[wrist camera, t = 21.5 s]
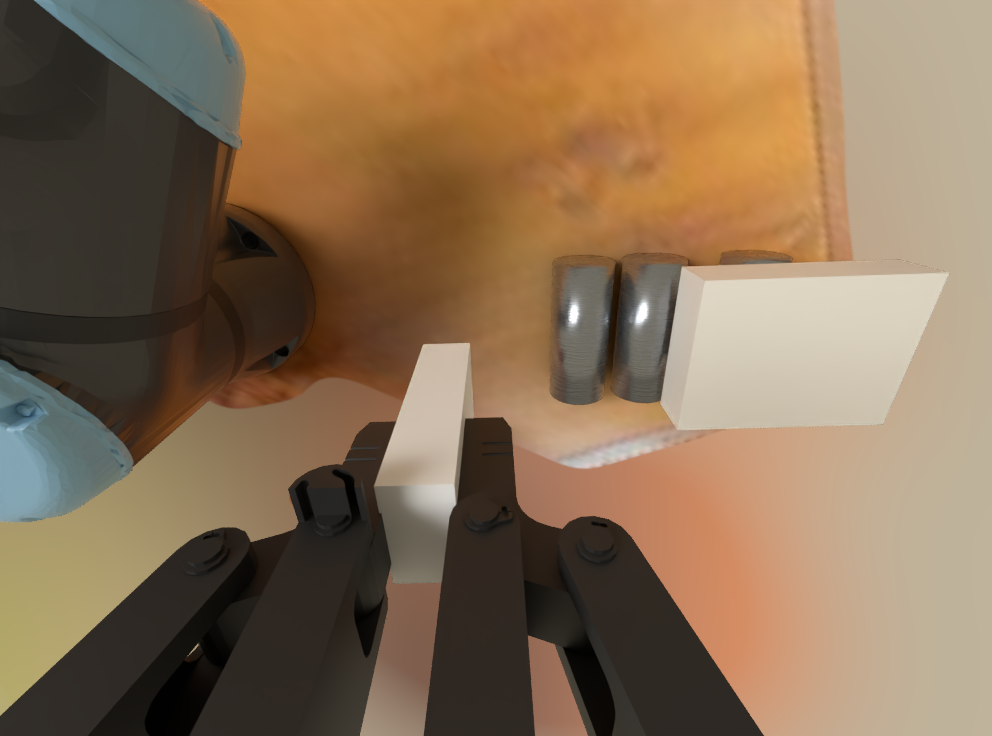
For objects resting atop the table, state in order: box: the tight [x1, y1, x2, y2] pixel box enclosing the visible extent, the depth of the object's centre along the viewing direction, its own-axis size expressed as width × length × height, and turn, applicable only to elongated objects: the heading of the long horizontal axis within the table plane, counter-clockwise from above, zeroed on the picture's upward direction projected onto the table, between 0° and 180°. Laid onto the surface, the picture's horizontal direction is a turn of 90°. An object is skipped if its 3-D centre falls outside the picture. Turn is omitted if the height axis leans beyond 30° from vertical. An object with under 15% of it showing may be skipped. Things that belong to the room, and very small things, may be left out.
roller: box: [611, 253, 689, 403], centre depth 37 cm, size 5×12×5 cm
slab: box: [660, 259, 949, 430], centre depth 33 cm, size 16×12×4 cm
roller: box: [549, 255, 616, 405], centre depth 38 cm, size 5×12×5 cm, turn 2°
